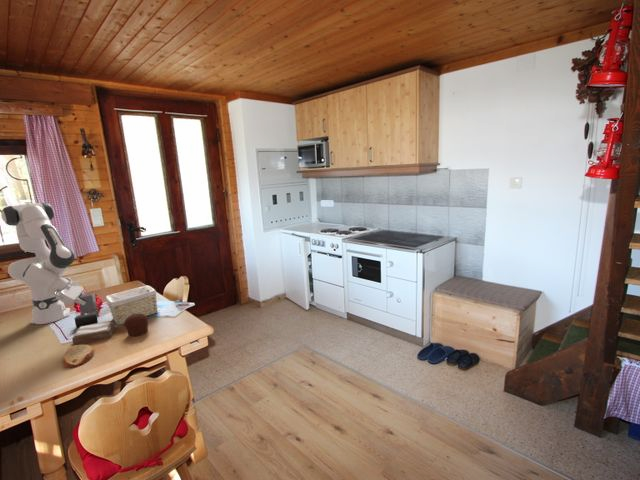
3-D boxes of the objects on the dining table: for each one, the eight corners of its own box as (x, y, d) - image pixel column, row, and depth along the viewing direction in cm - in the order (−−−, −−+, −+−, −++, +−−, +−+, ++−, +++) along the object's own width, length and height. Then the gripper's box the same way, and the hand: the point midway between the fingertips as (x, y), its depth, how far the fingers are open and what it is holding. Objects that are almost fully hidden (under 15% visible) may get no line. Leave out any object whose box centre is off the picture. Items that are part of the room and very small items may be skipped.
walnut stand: (80, 334, 180) (79, 326, 179) (114, 327, 186) (113, 319, 185) (73, 345, 167) (71, 337, 166) (110, 337, 173) (108, 329, 172)
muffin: (122, 339, 171) (118, 321, 169) (130, 329, 182) (127, 312, 180) (146, 336, 173) (143, 318, 171) (153, 326, 183) (150, 309, 181)
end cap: (76, 330, 185) (74, 319, 183) (77, 326, 190) (74, 315, 189) (98, 325, 190) (96, 314, 189) (98, 321, 196) (95, 310, 194)
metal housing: (84, 310, 175) (80, 294, 173) (97, 308, 177) (94, 292, 175) (81, 314, 170) (78, 297, 168) (95, 311, 172) (92, 295, 171)
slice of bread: (76, 347, 166) (75, 340, 166) (108, 347, 163) (107, 340, 163) (42, 368, 149) (40, 360, 148) (77, 369, 146) (75, 361, 145)
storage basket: (115, 327, 186) (110, 302, 183) (109, 319, 198) (104, 295, 195) (160, 313, 202) (156, 289, 199) (152, 306, 213) (148, 284, 211)
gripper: (57, 288, 158) (86, 303, 163) (69, 276, 176) (95, 290, 182) (48, 299, 157) (77, 313, 163) (61, 286, 175) (87, 300, 181)
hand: (86, 301), depth 172 cm, fingers closed on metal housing, 5 cm apart
